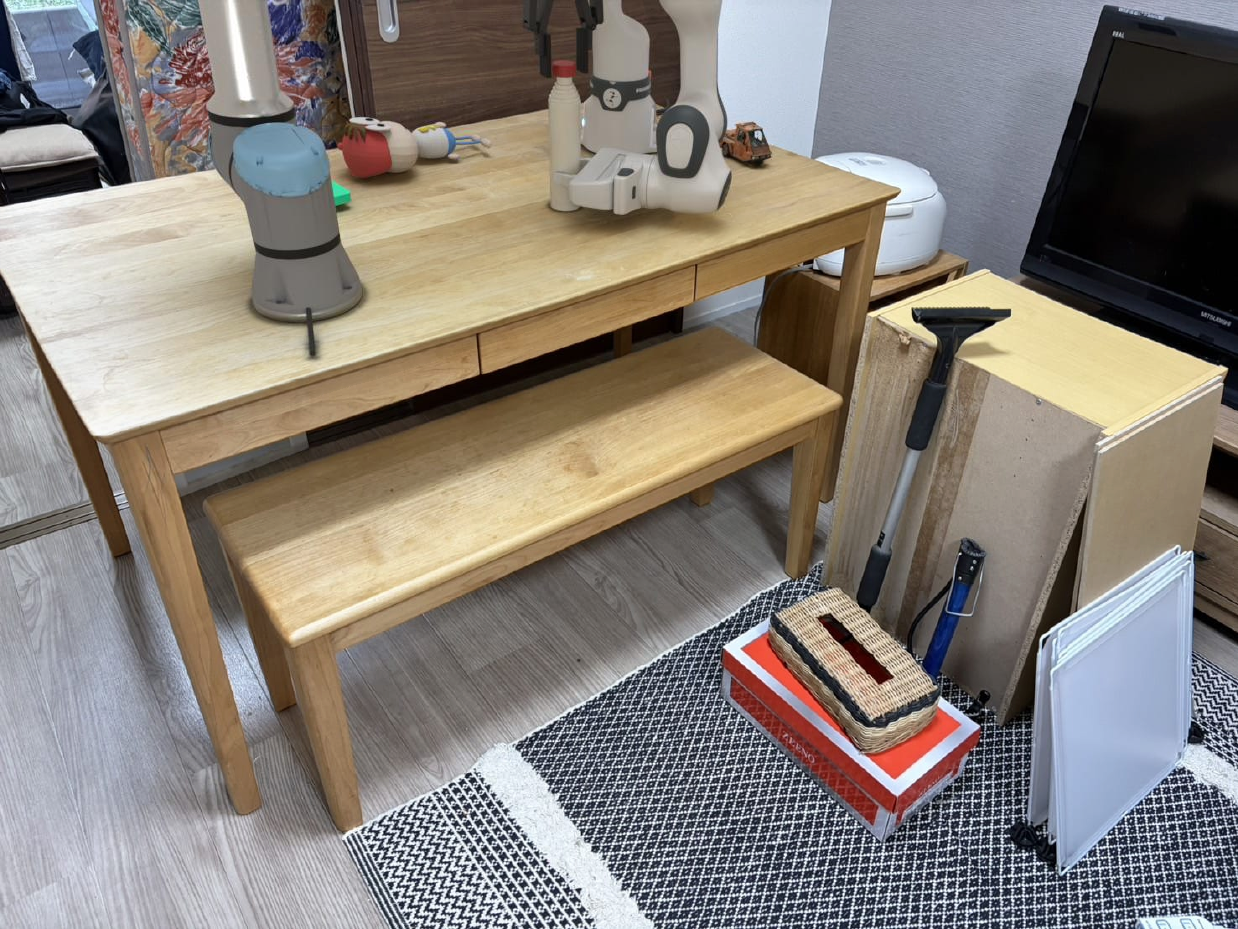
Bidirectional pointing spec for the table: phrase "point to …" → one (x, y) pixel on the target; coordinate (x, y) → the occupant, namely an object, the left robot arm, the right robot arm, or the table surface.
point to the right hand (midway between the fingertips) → (560, 170)
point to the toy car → (746, 144)
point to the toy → (395, 145)
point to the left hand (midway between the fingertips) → (564, 73)
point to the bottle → (564, 139)
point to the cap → (564, 69)
